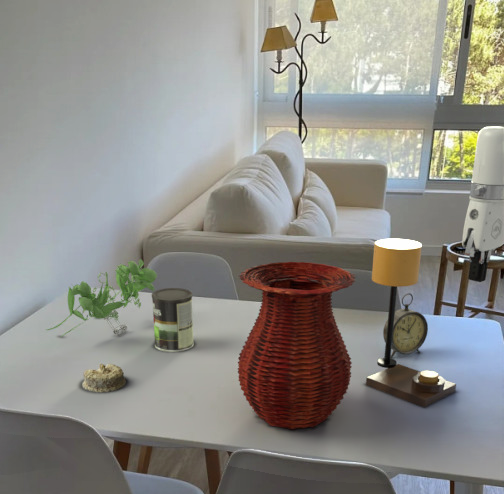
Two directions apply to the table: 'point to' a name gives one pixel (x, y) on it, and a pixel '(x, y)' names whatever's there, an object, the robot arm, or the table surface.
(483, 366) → the table surface
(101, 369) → the cake
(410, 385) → the lamp base
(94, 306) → the plant cuttings
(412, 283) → the lamp
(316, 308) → the vase
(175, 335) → the coffee can
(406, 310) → the alarm clock
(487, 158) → the robot arm
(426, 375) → the lamp switch
